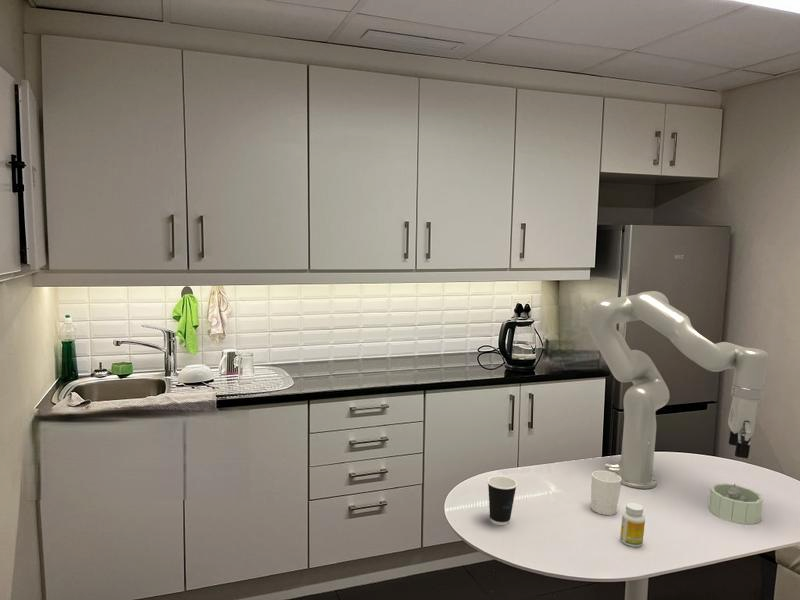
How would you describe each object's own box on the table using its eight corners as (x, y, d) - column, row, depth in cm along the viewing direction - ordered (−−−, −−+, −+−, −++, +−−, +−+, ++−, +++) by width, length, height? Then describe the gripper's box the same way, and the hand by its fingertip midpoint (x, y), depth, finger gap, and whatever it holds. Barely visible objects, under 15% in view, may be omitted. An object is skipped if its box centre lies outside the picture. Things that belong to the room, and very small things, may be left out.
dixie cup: (512, 530, 155) (515, 490, 154) (482, 525, 157) (484, 485, 156) (516, 517, 162) (519, 478, 161) (487, 512, 165) (489, 473, 163)
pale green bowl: (712, 518, 166) (714, 497, 166) (706, 500, 178) (708, 480, 178) (764, 527, 162) (766, 506, 162) (754, 508, 174) (756, 488, 173)
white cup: (619, 507, 171) (622, 474, 170) (617, 519, 164) (620, 484, 163) (590, 501, 174) (593, 468, 173) (587, 512, 167) (590, 478, 166)
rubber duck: (717, 506, 172) (720, 479, 171) (736, 504, 174) (739, 478, 173) (731, 514, 167) (735, 487, 166) (751, 513, 168) (754, 486, 168)
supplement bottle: (615, 539, 153) (618, 503, 152) (630, 535, 155) (633, 499, 154) (631, 549, 148) (635, 512, 147) (647, 545, 150) (650, 509, 149)
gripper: (726, 383, 176) (718, 438, 178) (737, 398, 159) (728, 459, 162) (755, 387, 173) (746, 443, 176) (769, 403, 157) (759, 465, 159)
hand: (738, 451), depth 169 cm, fingers open, 9 cm apart
